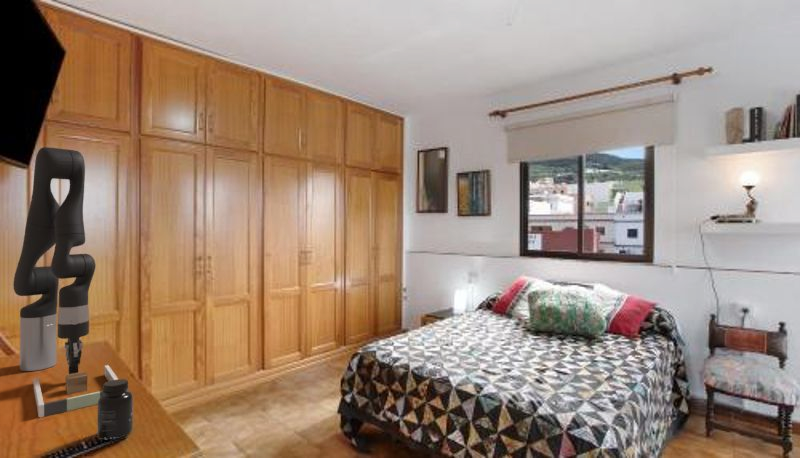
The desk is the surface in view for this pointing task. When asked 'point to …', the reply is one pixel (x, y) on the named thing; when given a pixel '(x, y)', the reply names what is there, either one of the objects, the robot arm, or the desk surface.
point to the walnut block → (76, 382)
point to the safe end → (82, 401)
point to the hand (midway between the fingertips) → (73, 377)
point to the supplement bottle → (115, 410)
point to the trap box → (61, 405)
